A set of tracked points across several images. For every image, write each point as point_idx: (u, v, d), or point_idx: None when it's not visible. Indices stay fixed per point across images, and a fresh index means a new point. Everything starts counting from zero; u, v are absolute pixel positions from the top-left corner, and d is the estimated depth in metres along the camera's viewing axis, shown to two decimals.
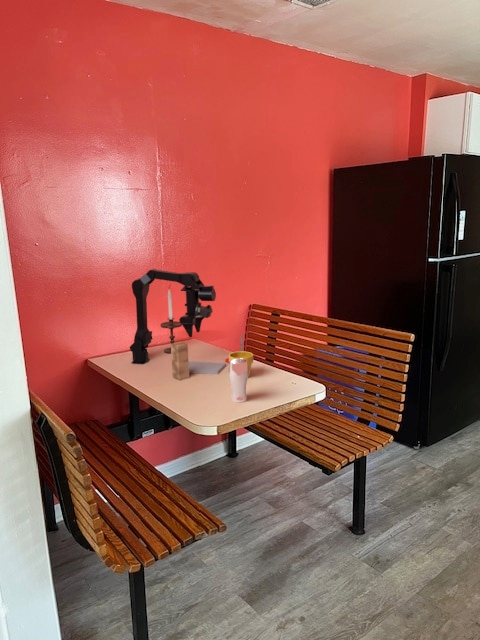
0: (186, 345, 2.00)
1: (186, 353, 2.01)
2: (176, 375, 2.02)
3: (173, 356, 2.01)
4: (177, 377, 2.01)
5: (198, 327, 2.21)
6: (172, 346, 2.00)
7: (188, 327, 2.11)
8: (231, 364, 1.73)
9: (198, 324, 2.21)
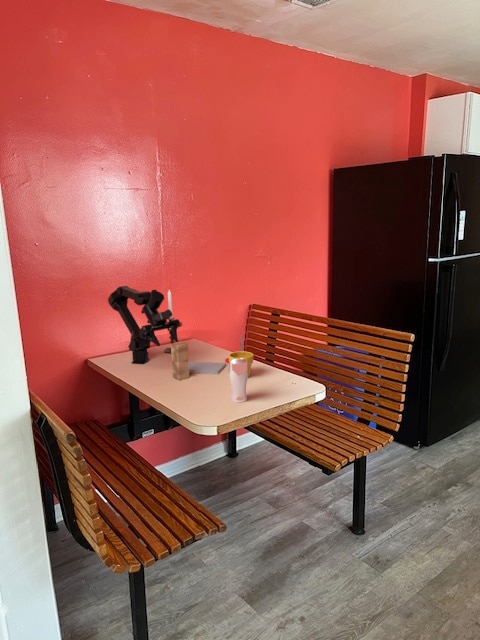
0: (186, 345, 2.00)
1: (186, 353, 2.01)
2: (176, 375, 2.02)
3: (173, 356, 2.01)
4: (177, 377, 2.01)
5: (174, 337, 2.11)
6: (172, 346, 2.00)
7: (152, 337, 2.05)
8: (231, 364, 1.73)
9: (173, 334, 2.11)
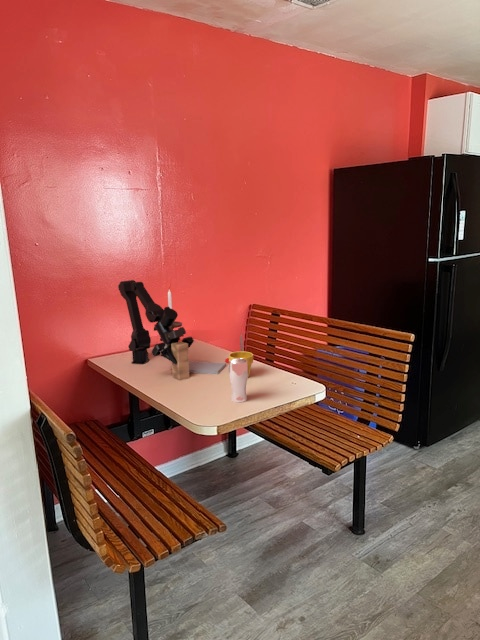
0: (187, 345, 2.00)
1: (186, 353, 2.01)
2: (176, 375, 2.02)
3: None
4: (177, 377, 2.01)
5: None
6: (173, 346, 2.00)
7: (169, 355, 2.01)
8: (231, 364, 1.73)
9: None
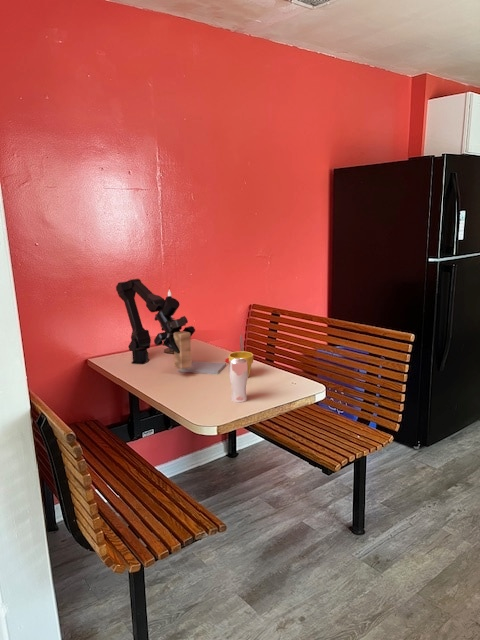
0: (189, 334, 2.00)
1: (189, 342, 2.01)
2: (178, 364, 2.01)
3: None
4: (179, 366, 2.01)
5: None
6: (175, 335, 2.00)
7: (171, 344, 2.01)
8: (231, 364, 1.73)
9: None
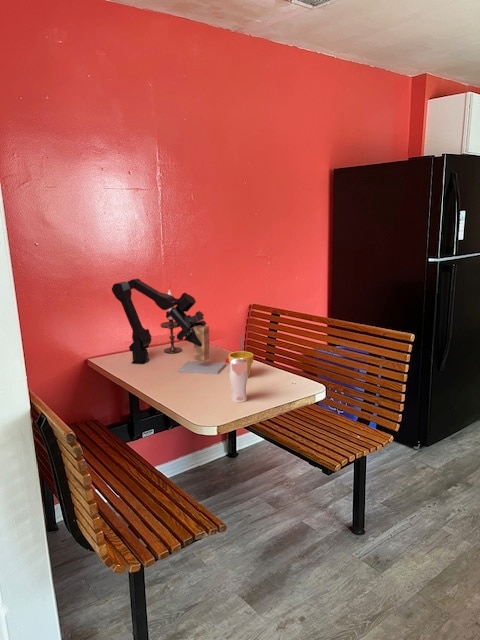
0: (208, 327, 2.12)
1: (208, 335, 2.12)
2: (200, 357, 2.11)
3: None
4: (201, 358, 2.11)
5: None
6: (196, 329, 2.10)
7: (192, 339, 2.09)
8: (231, 364, 1.73)
9: None
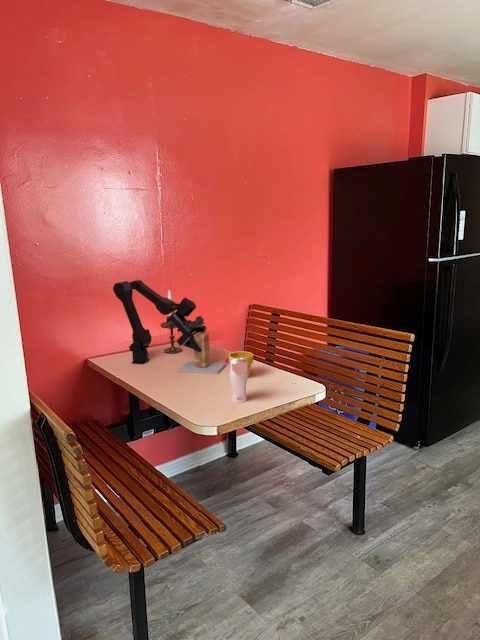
0: (208, 334, 2.13)
1: (208, 342, 2.13)
2: (201, 364, 2.12)
3: None
4: (202, 365, 2.12)
5: None
6: (195, 336, 2.10)
7: (192, 344, 2.09)
8: (231, 364, 1.73)
9: None
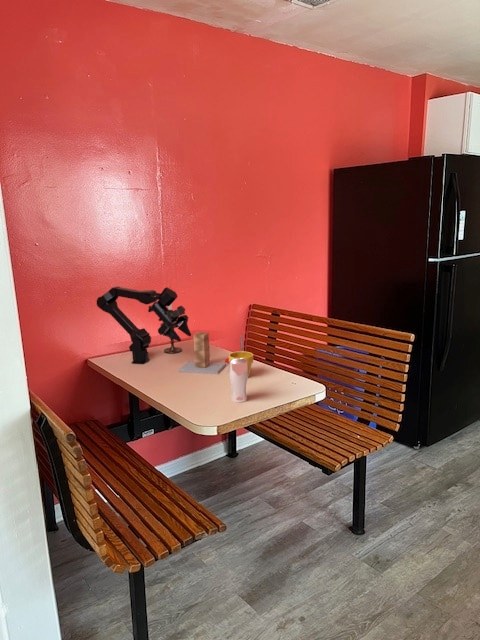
0: (208, 334, 2.13)
1: (208, 342, 2.13)
2: (201, 364, 2.12)
3: (196, 346, 2.11)
4: (202, 365, 2.12)
5: (187, 331, 2.20)
6: (195, 336, 2.10)
7: (171, 334, 2.11)
8: (231, 364, 1.73)
9: (185, 329, 2.20)
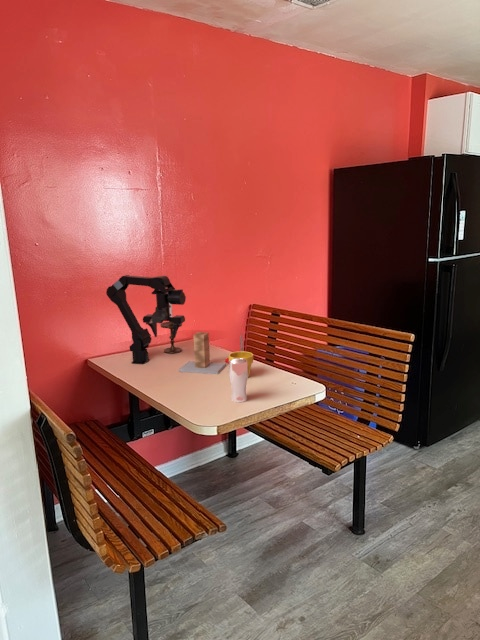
0: (208, 334, 2.13)
1: (208, 342, 2.13)
2: (201, 364, 2.12)
3: (196, 346, 2.11)
4: (202, 365, 2.12)
5: None
6: (195, 336, 2.10)
7: None
8: (231, 364, 1.73)
9: None
